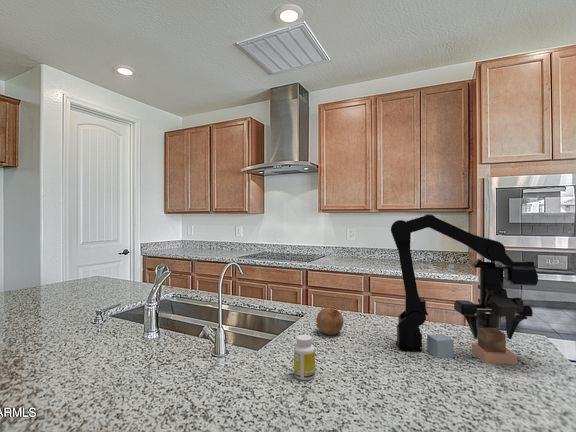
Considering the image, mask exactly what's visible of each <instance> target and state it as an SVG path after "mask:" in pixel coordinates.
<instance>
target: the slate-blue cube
mask: <svg viewBox="0 0 576 432" xmlns="http://www.w3.org/2000/svg"><path fill="white" fill-rule="evenodd" d="M426 338H427V339H426V340H427V341H426V342H427V343H426V344H427V346H426V347H427V348H426V350H427V352H428V353H429V354H431V355H432V356H434V357H435V358H436V359H444V358H445V359H446V358H454V339H452V338H451V337H449V336H447V335H446V334H444V333H433V334H432V333H431V334H427V336H426Z"/></svg>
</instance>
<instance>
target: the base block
mask: <svg viewBox="0 0 576 432" xmlns="http://www.w3.org/2000/svg"><path fill="white" fill-rule="evenodd" d="M471 352H472V353H473V354H474V355H475V356H476V357H478V358H479V359H480V360H481V361H482V362H483V363H484V364H492V365H493V364H496V365H497V364H498V365H517V355H516V353H514V352H513V351H511V350H510V349H508V348H507V347H506V352H487V351H485V350H484V349H483V348H482V347H480V346H479V345H478V342H471Z"/></svg>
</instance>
